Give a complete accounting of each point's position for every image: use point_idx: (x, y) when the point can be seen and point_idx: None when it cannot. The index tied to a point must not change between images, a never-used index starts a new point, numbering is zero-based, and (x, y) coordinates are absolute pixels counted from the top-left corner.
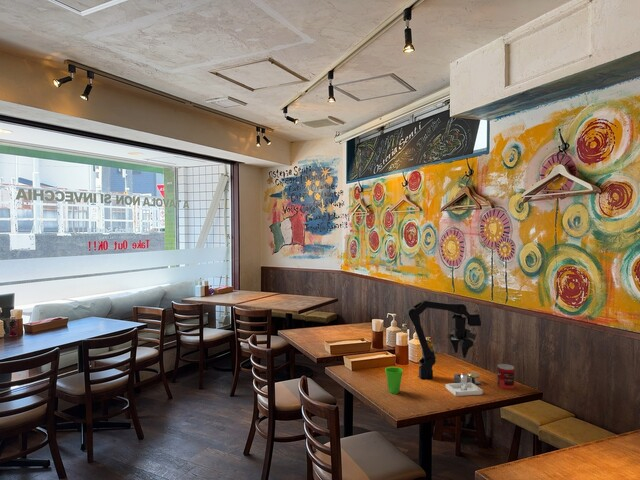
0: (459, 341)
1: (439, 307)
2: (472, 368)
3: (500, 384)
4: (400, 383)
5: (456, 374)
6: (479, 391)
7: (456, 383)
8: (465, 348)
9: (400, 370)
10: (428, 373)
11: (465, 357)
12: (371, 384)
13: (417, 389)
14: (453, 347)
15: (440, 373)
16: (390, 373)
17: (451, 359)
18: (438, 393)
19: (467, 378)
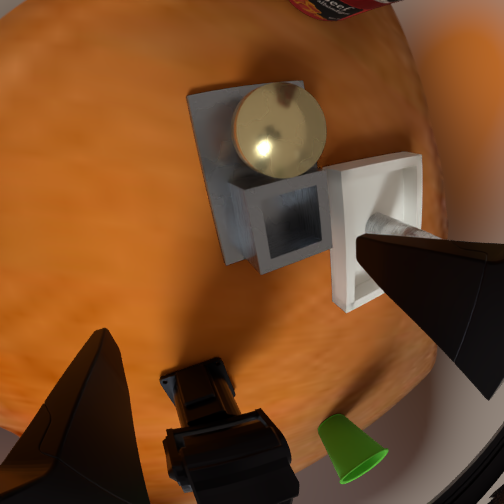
0: (19, 494)
1: None
2: None
3: (350, 16)
4: (355, 429)
5: (264, 258)
6: (419, 171)
7: (349, 262)
8: (489, 295)
9: (359, 460)
10: (233, 399)
11: (366, 234)
12: None
13: (323, 386)
14: (135, 445)
15: (82, 320)
16: (375, 460)
17: None
18: (366, 323)
19: (325, 191)
